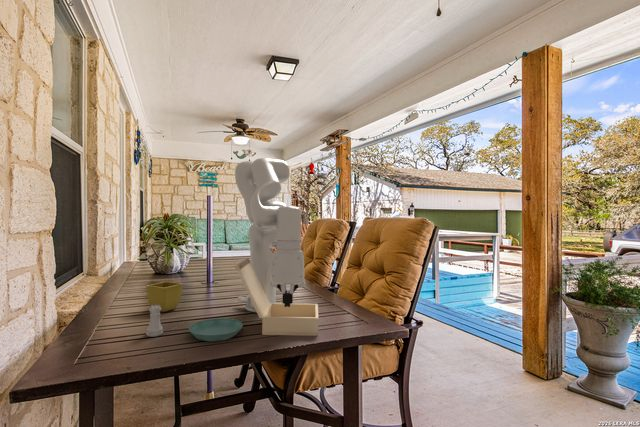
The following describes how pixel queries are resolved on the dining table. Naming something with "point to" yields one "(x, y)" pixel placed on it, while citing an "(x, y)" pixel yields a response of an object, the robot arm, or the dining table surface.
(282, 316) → the cream open box
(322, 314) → the dining table surface
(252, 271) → the box lid
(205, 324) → the saucer
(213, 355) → the dining table surface
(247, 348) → the dining table surface
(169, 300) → the flower pot
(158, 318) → the rook chess piece
